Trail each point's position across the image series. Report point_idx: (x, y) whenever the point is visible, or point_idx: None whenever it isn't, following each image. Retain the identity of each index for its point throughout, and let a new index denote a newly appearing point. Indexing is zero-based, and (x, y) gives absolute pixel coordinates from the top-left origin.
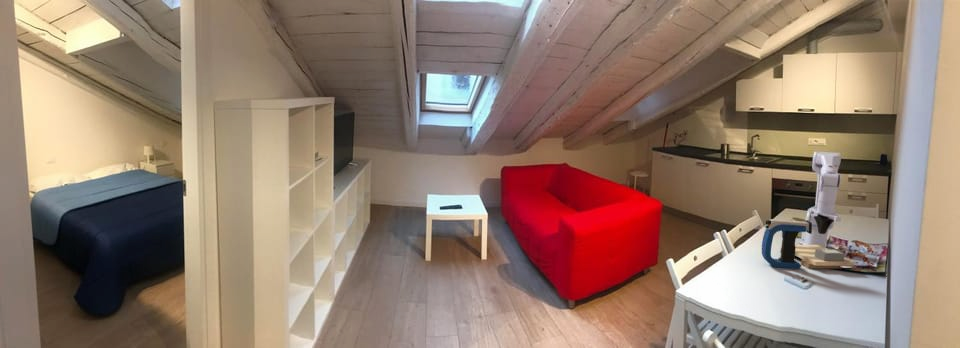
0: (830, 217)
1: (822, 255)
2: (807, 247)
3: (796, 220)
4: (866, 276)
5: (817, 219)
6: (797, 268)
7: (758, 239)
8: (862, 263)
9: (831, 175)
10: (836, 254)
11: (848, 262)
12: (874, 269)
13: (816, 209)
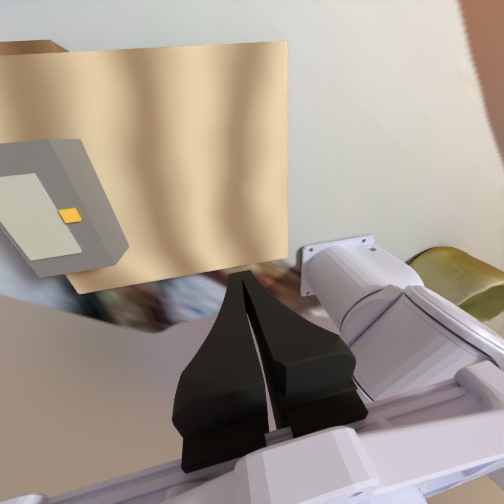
0: (155, 497)
1: None
2: (249, 194)
3: (497, 297)
4: (38, 281)
5: (275, 343)
6: None
7: (460, 70)
8: (191, 320)
9: None
10: (7, 232)
11: None
12: (141, 327)
13: (479, 472)
